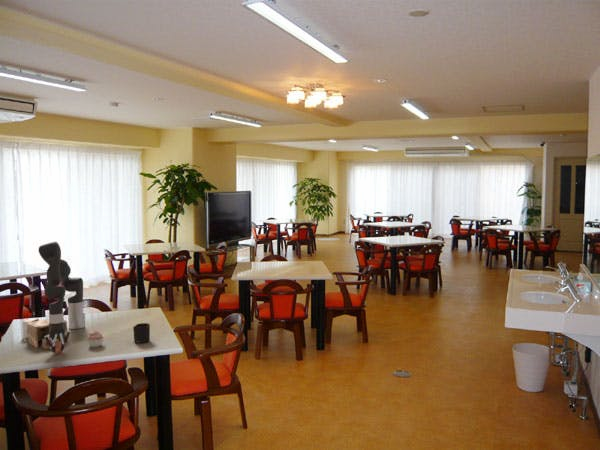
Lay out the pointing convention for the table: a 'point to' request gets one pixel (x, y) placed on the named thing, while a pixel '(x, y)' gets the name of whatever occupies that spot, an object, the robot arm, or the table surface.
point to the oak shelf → (39, 331)
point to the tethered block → (45, 346)
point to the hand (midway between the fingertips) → (57, 351)
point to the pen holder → (141, 333)
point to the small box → (26, 326)
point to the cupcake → (95, 339)
